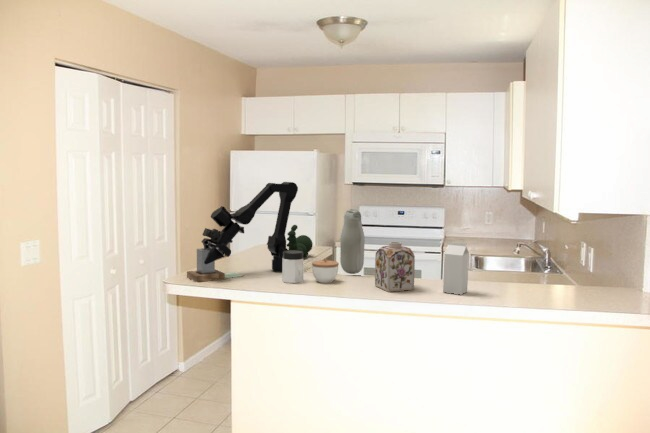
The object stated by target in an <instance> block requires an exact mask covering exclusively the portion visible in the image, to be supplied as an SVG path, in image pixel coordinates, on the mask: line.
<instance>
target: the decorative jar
mask: <svg viewBox="0 0 650 433" xmlns="http://www.w3.org/2000/svg"><path fill="white" fill-rule="evenodd" d="M415 257H416V256H415V253H414V251H413V250H412V248H411V247H408V246H403V245H402V242H400V241H389V244H388V245H384V246H381V247H379V248H378V249H377V251H375V259H374V261H375V262H374V286H375V287H377V288H379V289H381V290H382V291H383V290H384V291H385V292H387V293H393V292H394V291H395V292H405V291H404V290H409V291H414V289H415V273H416V272H415V270H416V269H415V262H416V261H415V259H416V258H415Z"/></svg>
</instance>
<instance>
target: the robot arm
mask: <svg viewBox="0 0 650 433" xmlns="http://www.w3.org/2000/svg"><path fill="white" fill-rule="evenodd" d="M298 191H299V187H298V185H297V184H296V183H295V182H291V181H283V182H281V183H275V182H274V183H273V182H268V183H266V184H265V186H264V187H263V188H262V189H261V190H260V191H259V192H258V193H257V194H256V195H255V197H253V198H252V199H251V201H249V202H248V203H247V204H245V205H244V206H241V207H240V208H238V210H236V211H235V212H234V213H233V212H232V213H230V212H229V211H228V210H227V209H226V207H225V206H220V207H218V208H217V209H216V210H214V211H213V212H212V213H211V214H210V218H211V219H212V220H213V221H214V222H215V223H216V224H217V225H218V226H219V227H221V228H222V227H223V229H221V230H219V229H216V228H211V229H210V228H207V227H205V228H204V230H203V232H202V236H203V237H204V238H203V239H202V240H201V243H202V244H203V248H211V249H212V252H211V254H210V255H209V256H208V258H207V259H206V261H205V262H204V263H205V264H209V263H211V262H213V261H217V260H220V259H222V258H224V257H227V258H228V257H230V256H231V254H232V250H231V249H230V248H229V247H228V245H229V243H231V244H232V243H233V241H234V240H233V239H234V238H235V237H236V236H237V235H238V233H240V234H245V227H244V226H241V225H249V224H250V223H251V221H253V219H254V218H255V216H256V212H257V211H258V210H259V209H260V208H261V206H263V204H265V203H266V202H267V200H269V199H270V198H271V196H272V195H274V193H278V195H279V196H278V197H279V201H280V202H279V206H278V207H279V208H278V211H277V216H276V221H275V222H276V223H275V227H274V231H273V234H272V235H268V238H267V243H266V245H267V249H268V252H270V255H271V256H272V258H273V259H271V269H272V271H273V272H275V273H276V272H282V258H283V252H284V251H289V248H287V238H286V230H287V226H288V220H289V217H290V210H291V205H292V203H293V201H294V199H295V198H296V196H297V194H298Z"/></svg>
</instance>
